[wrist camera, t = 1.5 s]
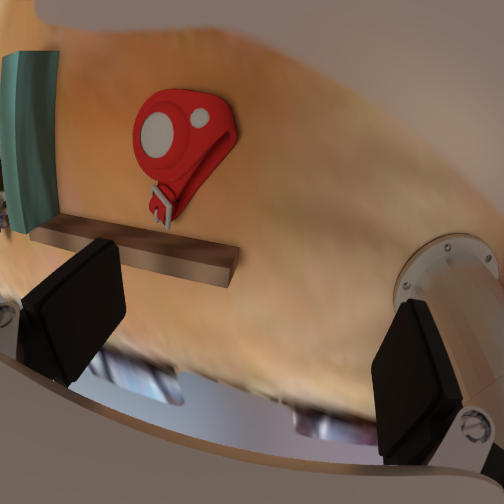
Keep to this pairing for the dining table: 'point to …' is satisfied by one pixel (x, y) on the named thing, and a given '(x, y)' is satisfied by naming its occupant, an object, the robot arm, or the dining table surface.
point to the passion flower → (3, 211)
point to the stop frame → (45, 185)
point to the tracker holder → (181, 145)
